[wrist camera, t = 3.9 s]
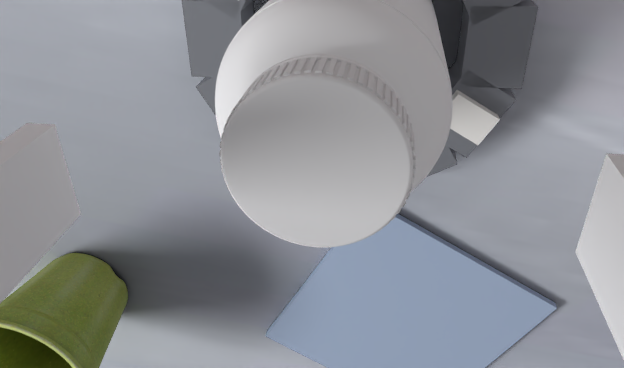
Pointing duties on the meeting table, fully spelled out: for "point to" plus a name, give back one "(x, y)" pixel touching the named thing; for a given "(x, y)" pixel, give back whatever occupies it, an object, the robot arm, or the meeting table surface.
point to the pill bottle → (332, 115)
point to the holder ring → (463, 74)
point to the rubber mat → (406, 305)
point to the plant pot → (62, 315)
